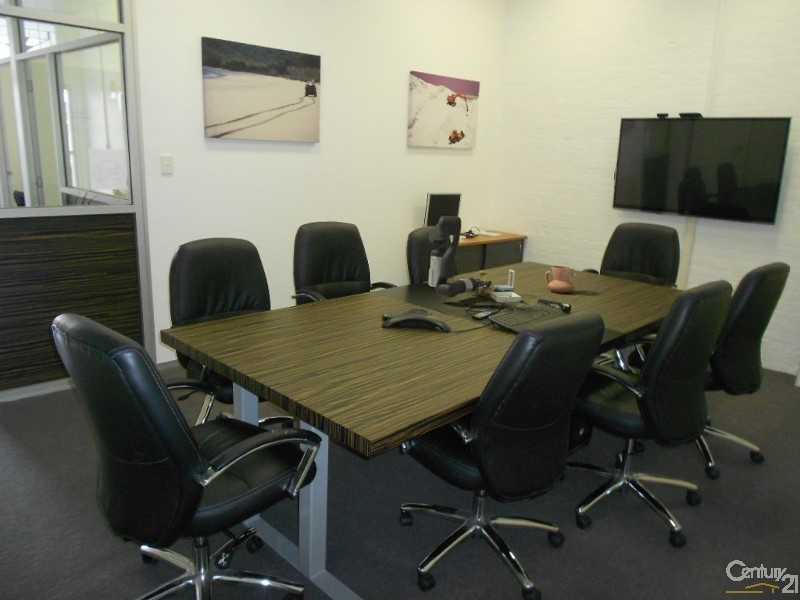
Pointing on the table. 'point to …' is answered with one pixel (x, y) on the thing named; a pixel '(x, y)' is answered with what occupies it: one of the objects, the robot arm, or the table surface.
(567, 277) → the ceramic jug
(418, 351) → the table surface
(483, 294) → the stop pin
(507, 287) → the trolley
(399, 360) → the table surface
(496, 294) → the tray
